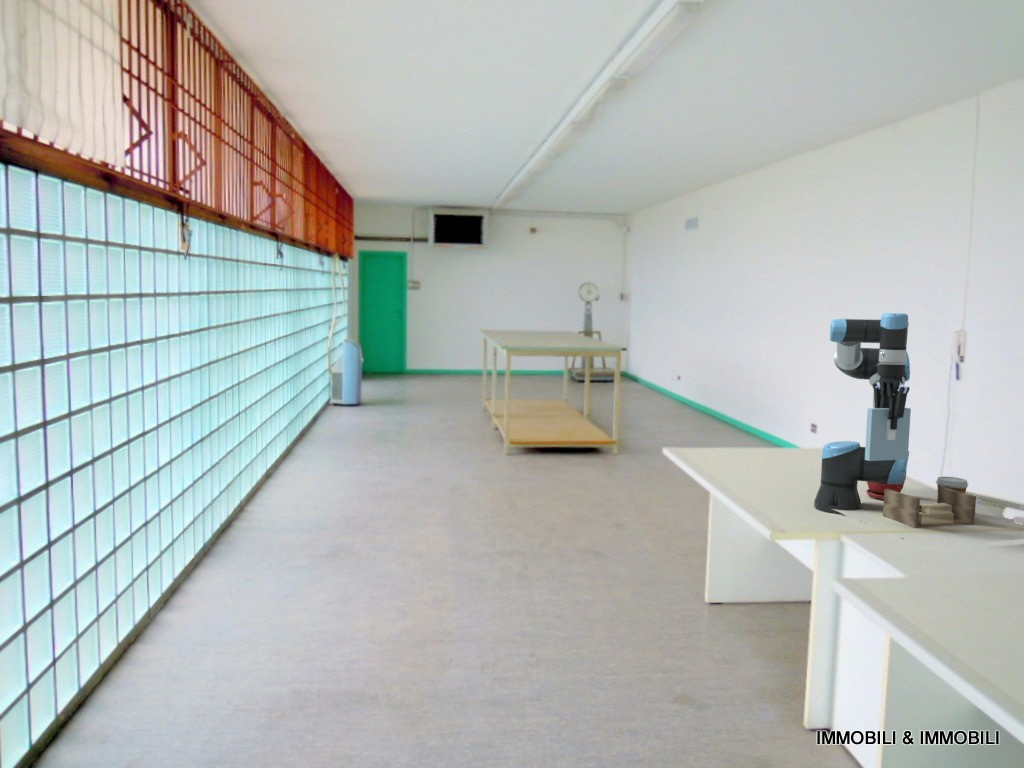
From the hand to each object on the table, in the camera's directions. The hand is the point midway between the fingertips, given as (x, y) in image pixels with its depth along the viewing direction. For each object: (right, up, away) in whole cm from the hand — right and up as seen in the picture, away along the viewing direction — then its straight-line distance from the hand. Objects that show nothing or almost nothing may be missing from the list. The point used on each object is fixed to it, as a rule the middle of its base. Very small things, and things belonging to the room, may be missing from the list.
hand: (887, 439), depth 235 cm
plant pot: (+20, -25, +43) cm, 54 cm away
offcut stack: (+17, -27, +5) cm, 32 cm away
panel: (0, -6, +1) cm, 6 cm away
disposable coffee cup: (+32, -27, +22) cm, 47 cm away
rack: (+17, -28, +8) cm, 34 cm away
